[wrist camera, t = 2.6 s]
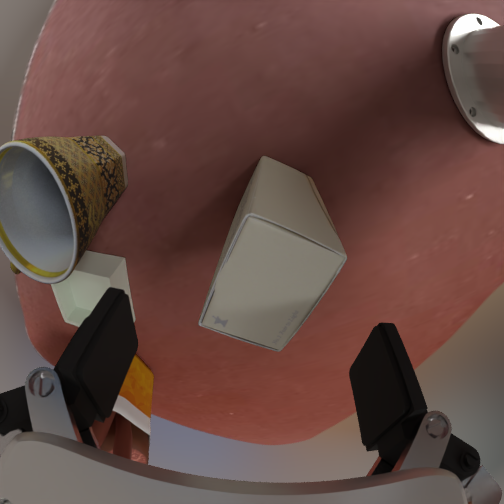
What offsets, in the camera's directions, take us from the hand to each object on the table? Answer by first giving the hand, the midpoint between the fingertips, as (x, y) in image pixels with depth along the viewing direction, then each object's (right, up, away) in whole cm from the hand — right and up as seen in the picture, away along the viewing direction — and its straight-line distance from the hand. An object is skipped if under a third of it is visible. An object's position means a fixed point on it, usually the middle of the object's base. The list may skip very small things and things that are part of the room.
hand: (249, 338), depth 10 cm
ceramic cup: (-15, +10, +12) cm, 21 cm away
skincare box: (+2, +8, +12) cm, 14 cm away
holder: (-17, 0, +18) cm, 25 cm away
